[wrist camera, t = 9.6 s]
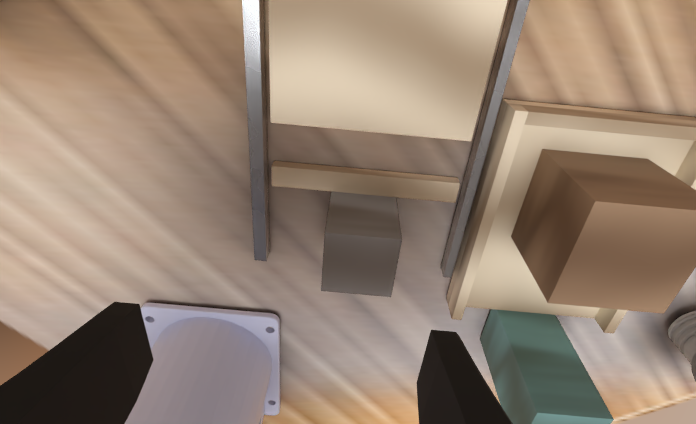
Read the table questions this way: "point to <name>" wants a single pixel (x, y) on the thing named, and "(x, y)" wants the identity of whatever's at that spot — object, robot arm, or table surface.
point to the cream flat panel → (376, 109)
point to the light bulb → (685, 337)
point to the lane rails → (258, 125)
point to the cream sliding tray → (511, 270)
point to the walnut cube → (607, 231)
